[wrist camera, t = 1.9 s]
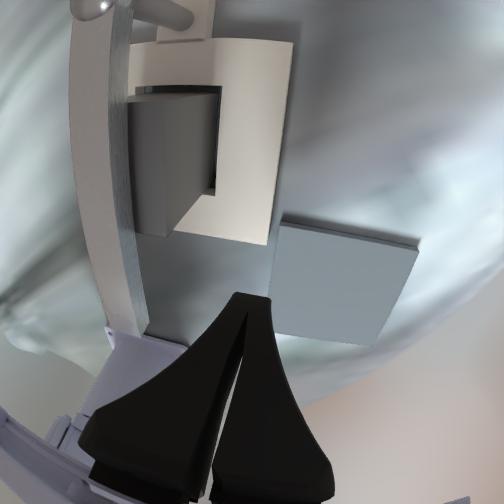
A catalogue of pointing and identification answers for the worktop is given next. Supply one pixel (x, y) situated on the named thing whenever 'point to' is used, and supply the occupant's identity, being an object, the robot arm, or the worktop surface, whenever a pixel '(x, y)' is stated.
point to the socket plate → (222, 110)
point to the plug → (169, 155)
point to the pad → (335, 283)
